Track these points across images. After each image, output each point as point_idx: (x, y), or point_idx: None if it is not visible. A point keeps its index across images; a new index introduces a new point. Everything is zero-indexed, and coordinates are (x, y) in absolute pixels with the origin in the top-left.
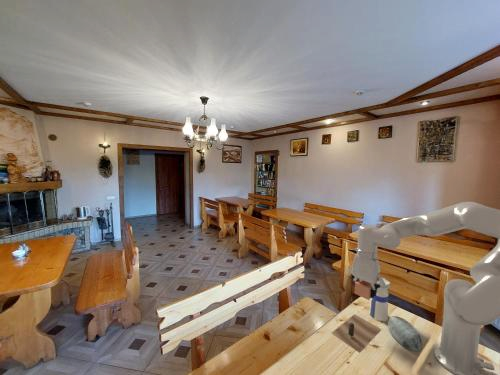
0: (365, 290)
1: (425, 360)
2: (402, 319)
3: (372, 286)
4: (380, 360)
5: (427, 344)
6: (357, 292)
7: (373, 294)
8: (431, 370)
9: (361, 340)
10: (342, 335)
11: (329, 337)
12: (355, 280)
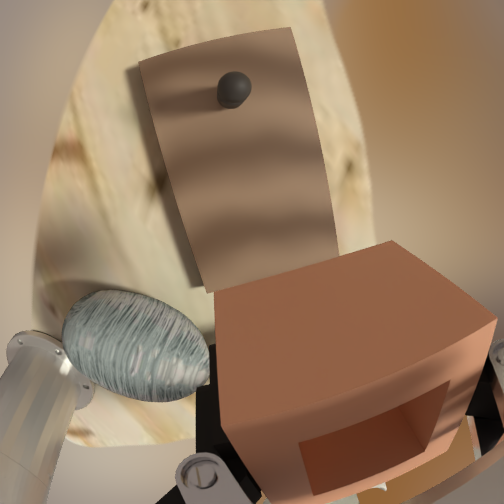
0: (285, 354)
1: (62, 309)
2: (152, 393)
3: (222, 496)
4: (94, 141)
5: None
6: (373, 262)
7: (209, 396)
8: (32, 287)
9: (187, 129)
10: (254, 63)
11: (283, 22)
12: (499, 363)
